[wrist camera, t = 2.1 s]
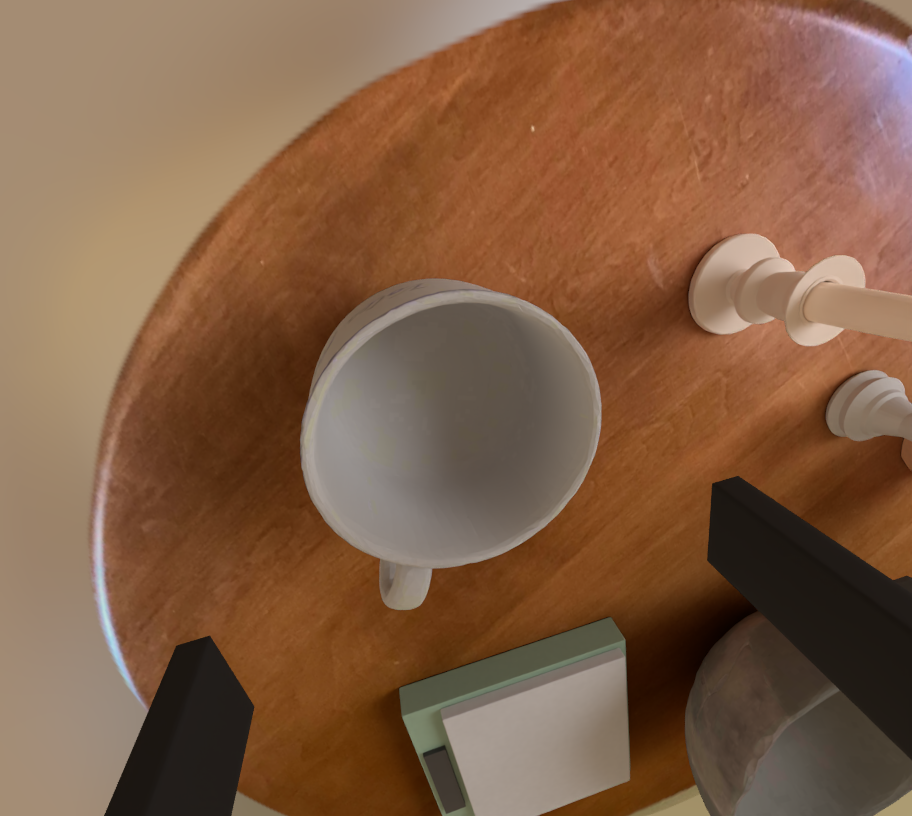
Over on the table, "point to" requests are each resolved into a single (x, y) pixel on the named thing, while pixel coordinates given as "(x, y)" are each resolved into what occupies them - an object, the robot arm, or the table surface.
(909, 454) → the potted plant
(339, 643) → the table surface
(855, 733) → the bowl
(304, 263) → the table surface
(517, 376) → the teacup
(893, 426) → the chess piece
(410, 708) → the scale
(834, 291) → the candle
